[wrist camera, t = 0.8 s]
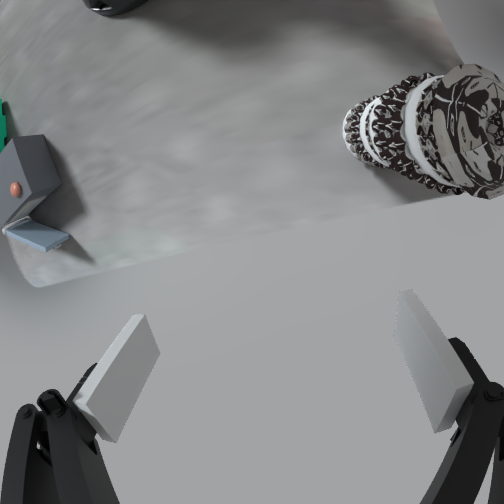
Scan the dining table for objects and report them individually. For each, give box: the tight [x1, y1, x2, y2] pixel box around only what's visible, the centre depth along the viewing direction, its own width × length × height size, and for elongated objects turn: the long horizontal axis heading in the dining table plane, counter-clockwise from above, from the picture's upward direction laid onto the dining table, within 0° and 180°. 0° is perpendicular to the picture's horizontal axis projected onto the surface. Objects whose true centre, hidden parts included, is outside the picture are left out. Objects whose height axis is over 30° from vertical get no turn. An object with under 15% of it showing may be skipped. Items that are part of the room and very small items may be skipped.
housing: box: [0, 134, 62, 227], centre depth 36 cm, size 10×13×8 cm
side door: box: [2, 218, 69, 252], centre depth 39 cm, size 1×12×7 cm, turn 75°
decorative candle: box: [343, 64, 504, 199], centre depth 21 cm, size 9×9×25 cm
